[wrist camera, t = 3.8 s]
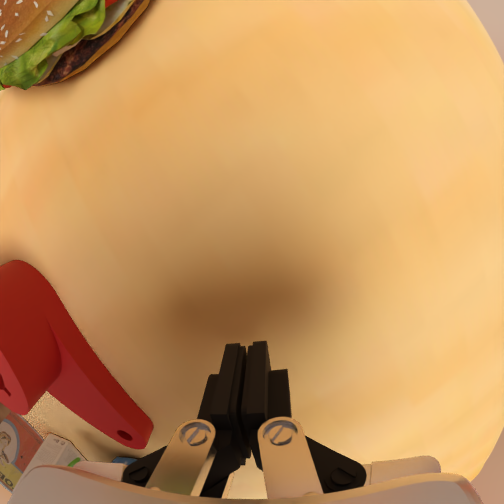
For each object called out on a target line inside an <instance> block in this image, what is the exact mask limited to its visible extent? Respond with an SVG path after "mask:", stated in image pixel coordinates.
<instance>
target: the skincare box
mask: <svg viewBox="0 0 504 504" xmlns="http://www.w3.org/2000/svg"><path fill="white" fill-rule="evenodd" d="M77 457H79V458H80V461H87V460H86V459H85V458H84V457H83V456H82V455H81V454H80V453H79V451H78V450H77V449H76V448H75V447H74V446H73V444H72V443H71V442H70V441H68V440H66V439H63V438H61V437H58V436H56V435H54V434H52V433H49V434H48V436H47V437H46V439H45V440H44V442H43V443H42V445H41V446H40V448H39V449H38V451H37V452H36V454H35V455H34V457H33V458H32V460H31V461H30V463H29V465H28V466H27V468H26V469H25V471H24V473H23V474H22V476H21V477H20V479H19V481H18V482H17V484H16V486H15V487H14V489H13V491H12V492H13V493H14V491H15V489H16V488H17V486H18V485H19V483H20V482H21V480H22V479H23V478H24V477H25V475H26V474H27V473H28V472H29V471H30V470H31V469H33V468H34V467H36V466H40V465H63V466H67V465H68V464H69V463H70V462H71V461H73V460H74V459H76V458H77ZM80 461H79V462H80Z"/></svg>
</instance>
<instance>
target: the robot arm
mask: <svg viewBox="0 0 504 504" xmlns="http://www.w3.org/2000/svg"><path fill="white" fill-rule="evenodd" d="M251 450H252V453H253V456H254V459H255V462H256V465H257V467H258V468H259V469H260V470H262V471H263V473H264V479H265V485H266V491H267V497H268V499H227V496H228V493H229V490H230V487H231V484H232V481H233V478H234V471H236V470H237V469H238V468H240V465H245V462H246V458H250V457H251ZM7 504H483V502H482V500H481V498H480V496H479V495H478V493H477V491H476V489H475V488H474V487H473V485H472V484H471V483H470V482H469V481H468V480H467V479H466V478H464V477H463V476H461V475H458V474H453V473H441V468H440V464H439V462H438V461H437V460H436V459H435V458H434V457H431V456H419V457H412V458H406V459H398V460H389V461H377V462H372V464H364V465H361V464H360V463H358V462H356V461H354V460H352V459H350V458H348V457H346V456H343V455H341V454H339V453H337V452H335V451H333V450H331V449H329V448H327V447H325V446H324V445H322V444H320V443H318V442H316V441H314V440H312V439H310V438H309V437H307V436H305V435H304V432H303V429H302V426H301V425H300V423H299V422H297V421H296V420H295V419H292V416H291V402H290V390H289V380H288V371H287V369H283V370H273V371H271V366H270V359H269V353H268V346H267V341H258V342H253V345H251V346H248V353H246V348H245V346H241V345H240V343H235V344H226V347H225V351H224V355H223V359H222V364H221V368H220V372H219V374H211V375H209V378H208V381H207V385H206V388H205V392H204V396H203V399H202V403H201V406H200V410H199V414H198V417H197V419H194V420H189V421H187V422H184V423H183V424H181V425H180V426H179V427H178V428H177V430H176V431H175V433H174V435H173V437H172V439H171V441H170V442H169V444H168V445H167V446H165V447H163V448H161V449H159V450H157V451H155V452H153V453H151V454H149V455H147V456H145V457H143V458H141V459H139V460H137V461H135V462H132V463H131V464H129V465H128V466H125V465H124V464H123V463H104V462H92V461H80V462H78V463H76V464H75V465H74V466H73V467H69V466H63V465H40V466H36V467H34V468H33V469H31V470H30V471H29V472H28V473H27V474H26V475H25V477H24V478H23V479H22V480H21V482H20V483H19V485H18V486H17V488H16V489H15V491H14V493H13V494H12V496H11V498H10V500H9V501H8V503H7Z"/></svg>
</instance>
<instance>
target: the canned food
mask: <svg viewBox="0 0 504 504" xmlns="http://www.w3.org/2000/svg"><path fill="white" fill-rule="evenodd" d="M43 442H44V439H43V438H42V437H41V435H40V434H39V433H38V432H37V431H36V430H35V429H34V428H33V427H32V426H31V425H30V424H29V423H28V422H27V421H26V420H25V419H24V418H23V417H22V416H21V415H20V414H17V413H15V412H13V411H11V412H10V413H9V414H8V415H7V416H6V418H5V419H4V420H3V421H2V422H1V424H0V484H2V486H4V487H5V488H6V489H7V490H9V491H10V492H11V493H12V494H13V492H12V491H13V489H14V487H15V486H16V484H17V482H18V481H19V479H20V477H21V476H22V474H23V473H24V471H25V469H26V468H27V466H28V465H29V463H30V461H31V460H32V458H33V457H34V455H35V454H36V452H37V451H38V449H39V448H40V446H41V445H42V443H43Z"/></svg>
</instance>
